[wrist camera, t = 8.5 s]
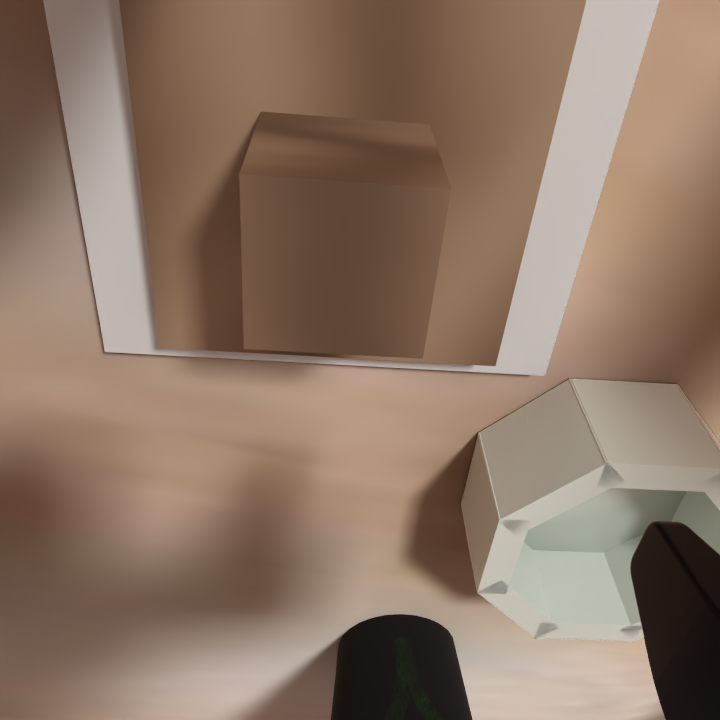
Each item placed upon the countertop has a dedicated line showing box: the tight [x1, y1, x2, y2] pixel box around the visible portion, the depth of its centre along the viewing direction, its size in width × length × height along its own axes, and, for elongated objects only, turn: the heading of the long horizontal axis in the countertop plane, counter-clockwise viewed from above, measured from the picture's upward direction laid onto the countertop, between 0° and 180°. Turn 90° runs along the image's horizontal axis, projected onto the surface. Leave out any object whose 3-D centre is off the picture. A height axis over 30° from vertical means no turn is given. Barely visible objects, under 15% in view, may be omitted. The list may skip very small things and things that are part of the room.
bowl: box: [461, 378, 720, 641], centre depth 24 cm, size 9×9×4 cm
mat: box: [43, 0, 659, 376], centre depth 18 cm, size 14×12×1 cm
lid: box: [119, 0, 586, 366], centre depth 16 cm, size 10×10×5 cm
